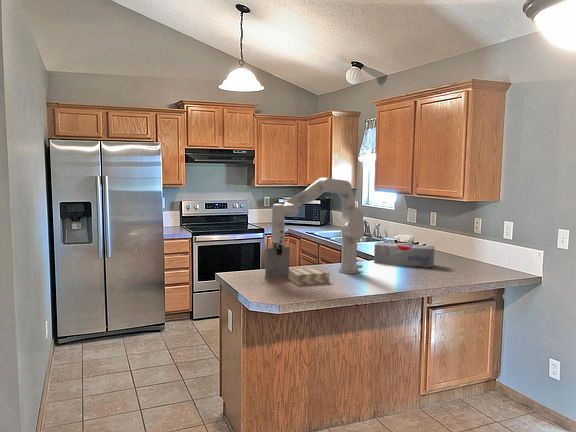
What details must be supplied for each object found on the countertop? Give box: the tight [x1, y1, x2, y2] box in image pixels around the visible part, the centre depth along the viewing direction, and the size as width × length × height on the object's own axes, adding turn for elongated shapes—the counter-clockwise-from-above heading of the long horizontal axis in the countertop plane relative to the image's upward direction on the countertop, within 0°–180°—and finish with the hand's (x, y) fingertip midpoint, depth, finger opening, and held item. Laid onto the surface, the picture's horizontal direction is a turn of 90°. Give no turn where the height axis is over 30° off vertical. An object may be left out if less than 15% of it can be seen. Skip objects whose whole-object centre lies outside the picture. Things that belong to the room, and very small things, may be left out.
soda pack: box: [373, 241, 436, 268], centre depth 333 cm, size 41×13×14 cm, turn 70°
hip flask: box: [264, 243, 291, 278], centre depth 287 cm, size 16×4×20 cm, turn 119°
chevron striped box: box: [288, 267, 331, 285], centre depth 278 cm, size 20×14×6 cm
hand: (277, 253), depth 287 cm, fingers open, 4 cm apart
